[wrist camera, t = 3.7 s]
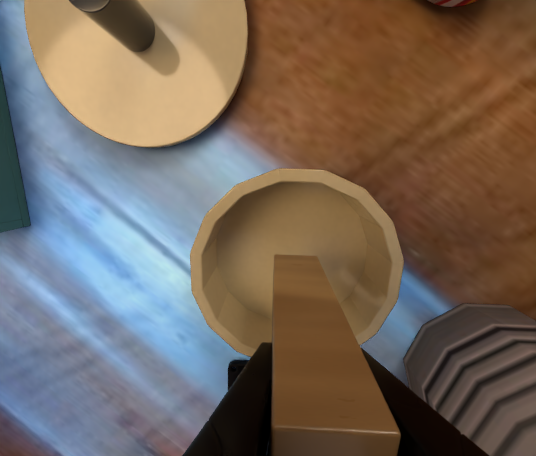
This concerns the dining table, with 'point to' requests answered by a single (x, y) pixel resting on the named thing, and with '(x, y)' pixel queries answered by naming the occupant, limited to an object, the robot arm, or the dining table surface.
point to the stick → (321, 372)
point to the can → (480, 375)
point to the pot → (293, 252)
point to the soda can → (452, 2)
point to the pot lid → (141, 63)
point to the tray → (10, 174)
